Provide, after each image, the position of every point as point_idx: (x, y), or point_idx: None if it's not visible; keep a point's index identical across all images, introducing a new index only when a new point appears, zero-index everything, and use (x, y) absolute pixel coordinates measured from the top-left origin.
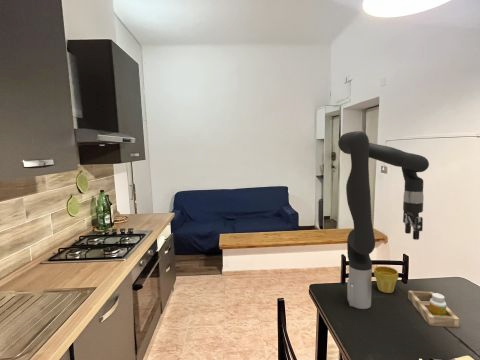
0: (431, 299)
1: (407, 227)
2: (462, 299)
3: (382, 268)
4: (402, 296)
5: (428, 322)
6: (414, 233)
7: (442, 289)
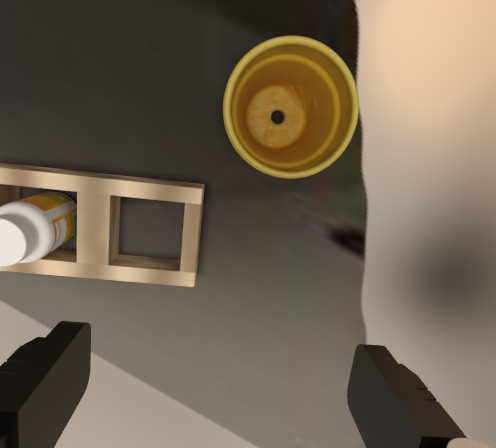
0: (22, 212)
1: (397, 433)
2: (200, 376)
3: (347, 116)
4: (215, 166)
5: (8, 164)
6: (9, 388)
7: (274, 351)
